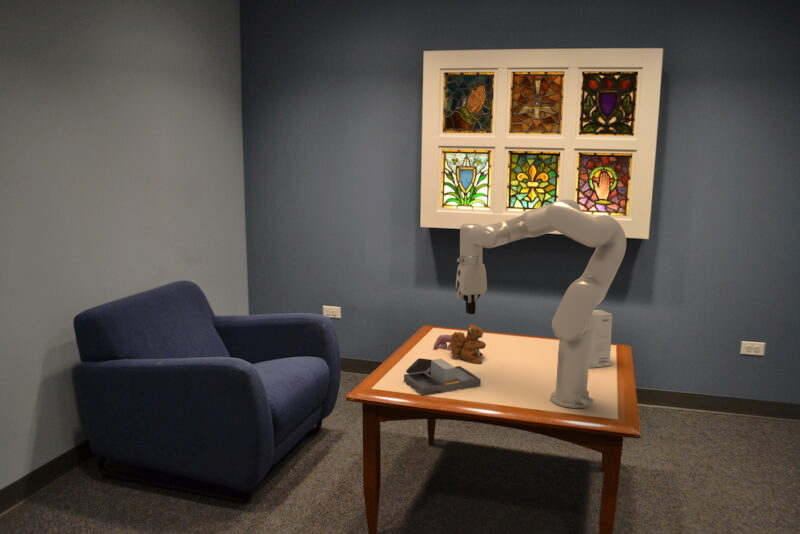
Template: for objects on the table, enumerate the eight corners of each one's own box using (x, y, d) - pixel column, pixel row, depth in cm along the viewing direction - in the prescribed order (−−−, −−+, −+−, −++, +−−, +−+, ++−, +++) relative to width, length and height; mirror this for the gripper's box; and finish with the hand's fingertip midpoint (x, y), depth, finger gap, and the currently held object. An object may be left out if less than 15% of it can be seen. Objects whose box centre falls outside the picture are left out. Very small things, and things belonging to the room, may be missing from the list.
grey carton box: (598, 360, 237) (602, 309, 233) (610, 366, 230) (614, 314, 226) (562, 363, 233) (565, 311, 229) (572, 370, 226) (576, 317, 222)
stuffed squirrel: (483, 364, 230) (484, 330, 228) (446, 360, 234) (447, 327, 232) (487, 356, 240) (488, 323, 237) (451, 352, 244) (452, 320, 241)
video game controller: (458, 355, 246) (462, 337, 247) (454, 352, 242) (458, 335, 243) (436, 350, 251) (440, 334, 252) (431, 348, 247) (435, 331, 248)
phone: (438, 360, 232) (426, 373, 218) (438, 363, 232) (426, 376, 218) (418, 358, 234) (405, 370, 221) (418, 360, 235) (405, 373, 221)
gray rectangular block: (455, 384, 207) (455, 367, 206) (444, 386, 205) (445, 369, 204) (441, 375, 216) (441, 358, 215) (430, 376, 214) (431, 360, 213)
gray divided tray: (480, 386, 209) (480, 378, 208) (422, 395, 200) (422, 387, 199) (459, 372, 221) (459, 365, 221) (403, 381, 212) (404, 373, 212)
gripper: (458, 263, 202) (457, 318, 205) (495, 260, 209) (495, 313, 212) (446, 260, 209) (446, 313, 212) (483, 257, 215) (482, 308, 218)
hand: (470, 313), depth 212 cm, fingers closed
